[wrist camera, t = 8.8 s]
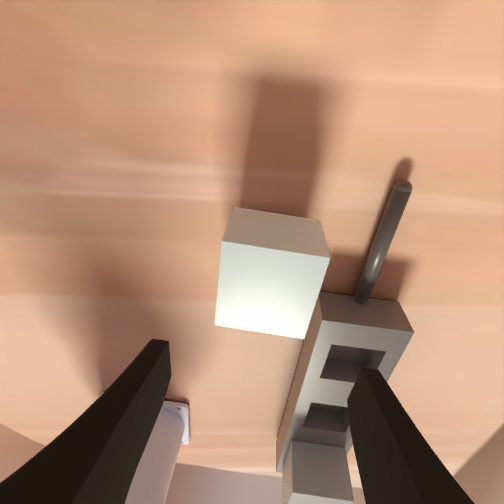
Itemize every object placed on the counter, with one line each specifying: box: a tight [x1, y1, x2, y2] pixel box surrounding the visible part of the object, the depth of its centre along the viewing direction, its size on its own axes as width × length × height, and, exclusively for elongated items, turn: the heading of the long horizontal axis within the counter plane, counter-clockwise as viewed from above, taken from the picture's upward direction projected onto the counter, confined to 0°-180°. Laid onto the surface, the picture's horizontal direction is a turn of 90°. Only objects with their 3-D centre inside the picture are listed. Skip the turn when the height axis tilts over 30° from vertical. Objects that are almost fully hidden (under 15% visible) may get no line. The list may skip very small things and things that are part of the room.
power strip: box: [276, 180, 414, 504], centre depth 22 cm, size 6×31×7 cm, turn 175°
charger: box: [215, 207, 330, 339], centre depth 17 cm, size 5×5×6 cm
